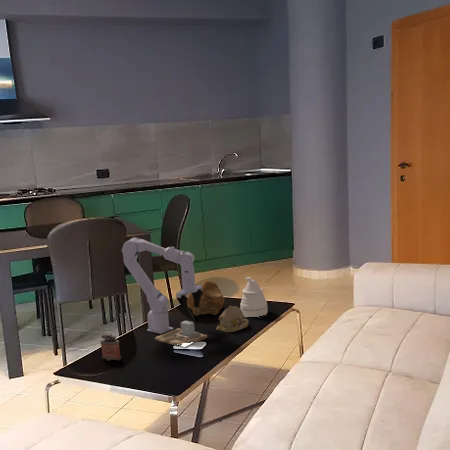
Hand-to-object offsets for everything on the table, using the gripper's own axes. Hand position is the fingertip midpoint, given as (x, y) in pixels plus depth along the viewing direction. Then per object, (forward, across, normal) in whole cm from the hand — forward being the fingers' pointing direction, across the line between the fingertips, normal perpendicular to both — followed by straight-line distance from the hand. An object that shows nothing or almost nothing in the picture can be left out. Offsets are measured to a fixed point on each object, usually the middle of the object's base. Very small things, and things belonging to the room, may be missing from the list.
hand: (190, 309), depth 249 cm
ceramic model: (+10, +12, -14) cm, 20 cm away
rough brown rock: (+10, +23, +11) cm, 27 cm away
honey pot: (+10, +32, -10) cm, 35 cm away
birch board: (+9, -11, -4) cm, 15 cm away
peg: (+8, -11, -9) cm, 16 cm away
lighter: (+10, -42, +4) cm, 43 cm away
